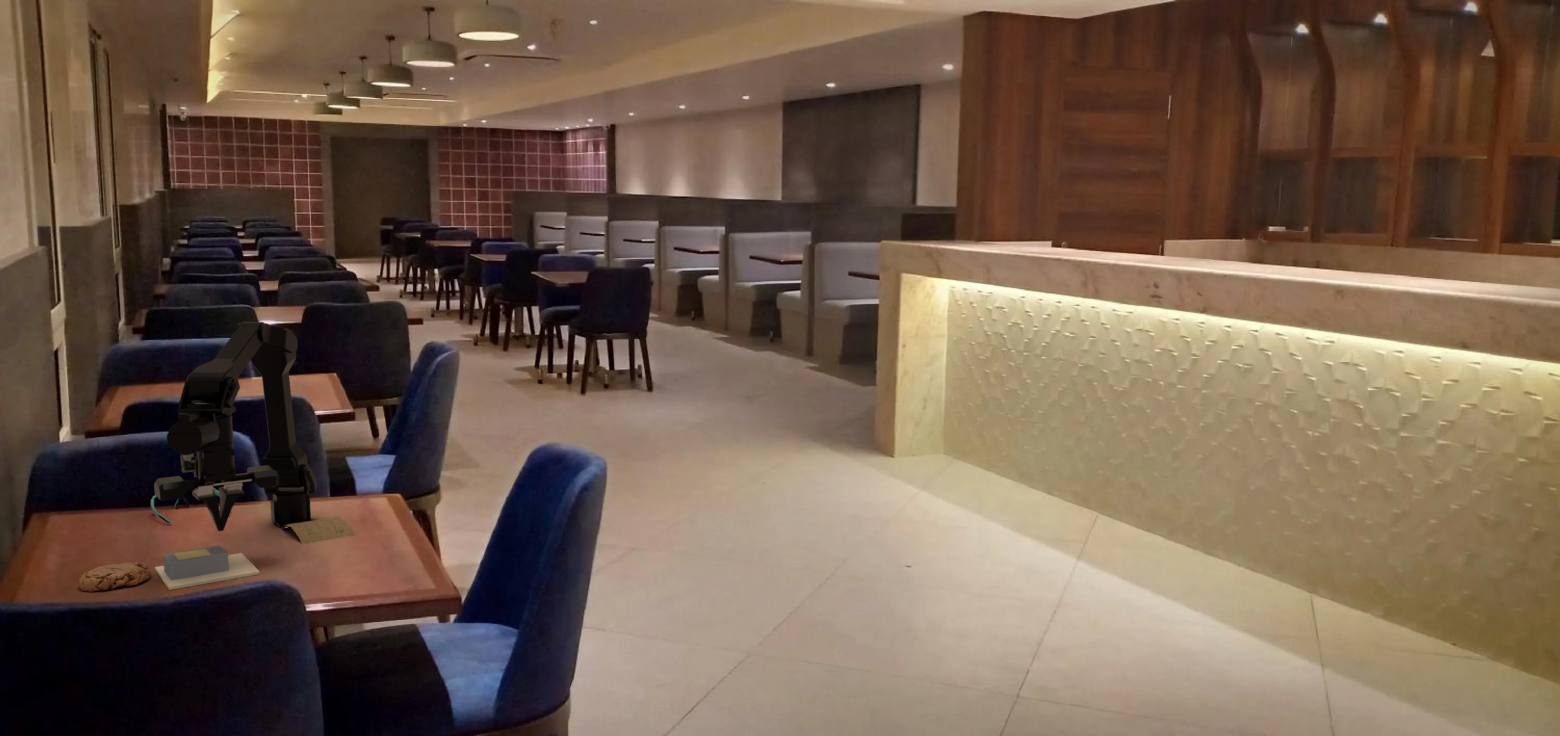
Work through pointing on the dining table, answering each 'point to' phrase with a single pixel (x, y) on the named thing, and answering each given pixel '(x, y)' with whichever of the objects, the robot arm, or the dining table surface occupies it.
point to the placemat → (237, 569)
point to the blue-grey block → (195, 562)
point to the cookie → (114, 576)
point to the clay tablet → (321, 529)
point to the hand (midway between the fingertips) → (220, 530)
